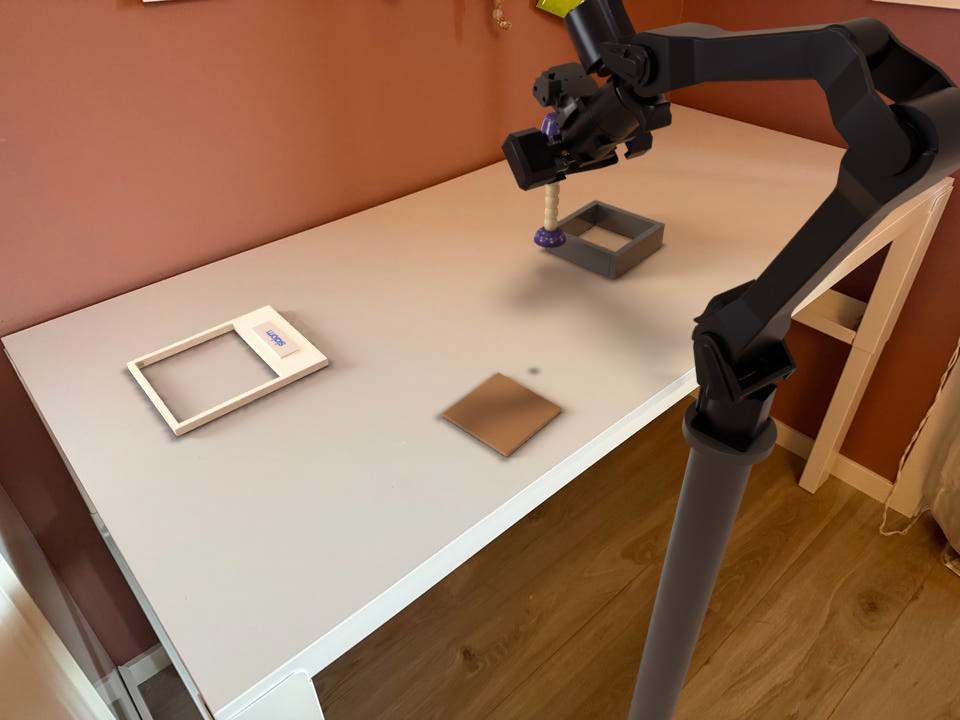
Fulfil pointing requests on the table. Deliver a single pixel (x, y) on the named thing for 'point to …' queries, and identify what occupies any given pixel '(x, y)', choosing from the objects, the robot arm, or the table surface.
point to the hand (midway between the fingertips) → (548, 175)
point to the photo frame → (266, 338)
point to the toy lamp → (550, 199)
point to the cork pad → (502, 414)
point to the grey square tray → (615, 219)
